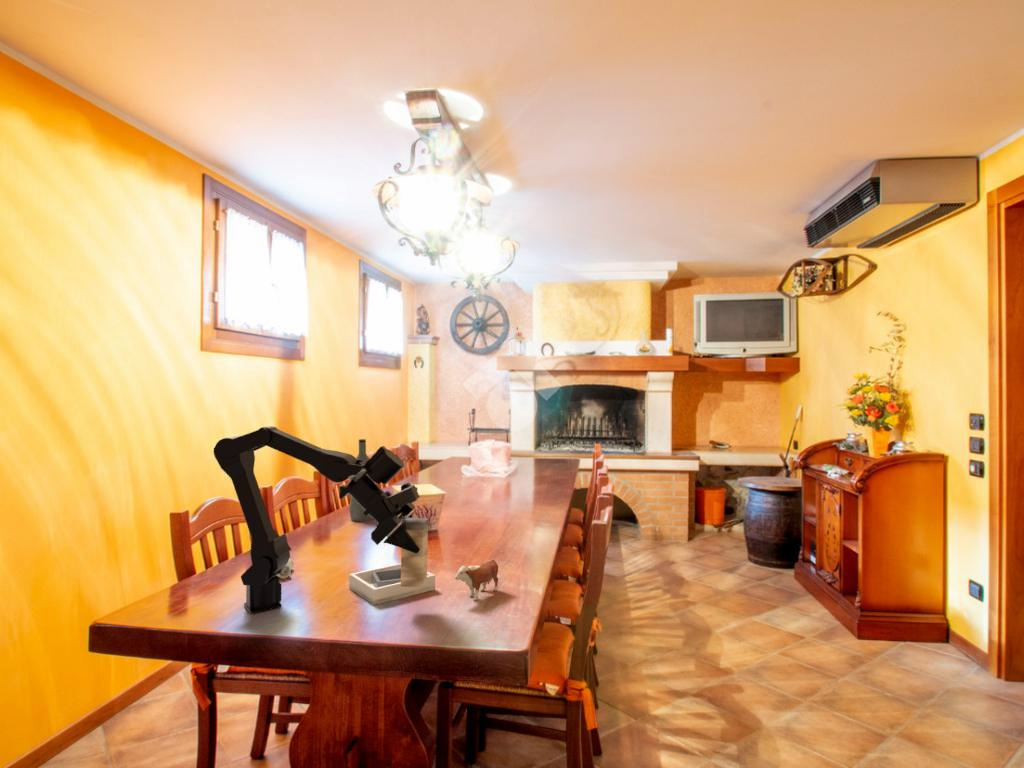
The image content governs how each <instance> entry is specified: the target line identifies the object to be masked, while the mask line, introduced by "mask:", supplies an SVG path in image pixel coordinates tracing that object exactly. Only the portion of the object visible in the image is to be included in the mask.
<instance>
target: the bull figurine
mask: <svg viewBox="0 0 1024 768" xmlns="http://www.w3.org/2000/svg"><path fill="white" fill-rule="evenodd" d="M498 572H499V565H498V563H497V562H496V561H495V560H494V559H491V560H489V561H486V562H483V563H481V564H479V565H469V566H468V567H467V566H466V565H462V566H461V567H460V568H459V569H458V571H457V573H456V574H455V575H454V580H456V581H459V580H460V581H461V582H463V583H464V582H465V584H466V585H467V586H468V588H469V589H470V595H469V598H473V597H474V598H473V601H474V602H478V600H479V592H485V590H487V589H486V588H487V585H489V584H490V582H492V581H493V582H494V588H493V592H497V591H498V590H499V587H498V584H499V583H498V582H499V577H498ZM481 585H482V587H481ZM474 589H475V590H474Z"/></svg>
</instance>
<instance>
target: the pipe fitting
mask: <svg viewBox="0 0 1024 768" xmlns="http://www.w3.org/2000/svg"><path fill="white" fill-rule="evenodd" d="M294 566H295V563H294V560H293V559H292V558H290V559H289V561H288V563H287V564H286V565H285V566H284V567H283V568H282V571H281V573H280V574H278V575H277V576H278V577H279V579H286V578H288V577H289V576H290V575H291V573H292V570H293V568H294Z"/></svg>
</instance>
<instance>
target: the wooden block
mask: <svg viewBox="0 0 1024 768" xmlns="http://www.w3.org/2000/svg"><path fill="white" fill-rule="evenodd" d="M404 521H406V531H407V532H408V534H409V535H410V536H411V538H412V539H413V540H414V542H415V543H416V544H417V546H418V547H419V549H420V551H419V552H418V553H414V552H411V551H408V550H406V549H403V548H400V549H401V551H400V555H401V558H400V563H401V587H423V585H424V584H425V582H426V581H427V572H428V538H429V537H428V536H429V535H428V532H429V531H428V529H429V517H428V518H427V517H413V518H406V519H405V520H403V521H402V522H401V523H403V522H404Z"/></svg>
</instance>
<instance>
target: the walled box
mask: <svg viewBox="0 0 1024 768" xmlns="http://www.w3.org/2000/svg"><path fill="white" fill-rule="evenodd" d="M348 577H349V585H348V586H349V589H350V590H351V591H352V592H355V594H357V595H358V596H360V597H362V598H363V599H365V600H366V601H367V602H369V603H370V604H372V605H373V606H376V605H380V604H384V603H388V602H392V601H396V600H399V599H403V598H407V597H411V596H415V595H419V594H423V593H427V592H430V591H434V590H436V575H435V574H433V573H432V572H429V571H427V581H426V582H425V584H424V585H423V587H401V562H399V563H394V564H391V565H386V566H381V567H377V568H373V569H372V568H371V569H367V570H363V571H359V572H354V573H349V575H348Z"/></svg>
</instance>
